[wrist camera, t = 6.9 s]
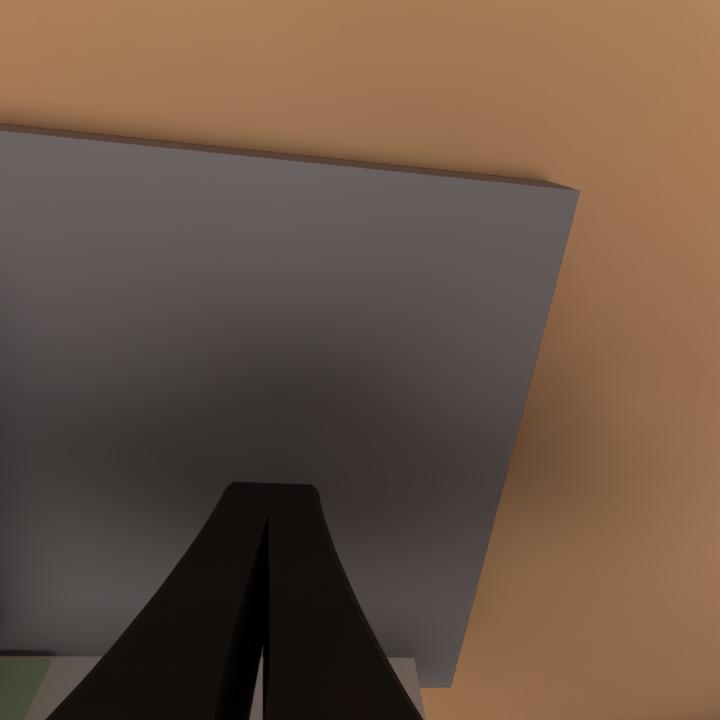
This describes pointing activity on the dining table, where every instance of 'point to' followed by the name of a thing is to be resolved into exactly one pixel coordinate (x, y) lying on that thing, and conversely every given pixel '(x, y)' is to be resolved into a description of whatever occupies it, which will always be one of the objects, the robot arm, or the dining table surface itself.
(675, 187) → the dining table surface
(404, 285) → the base
